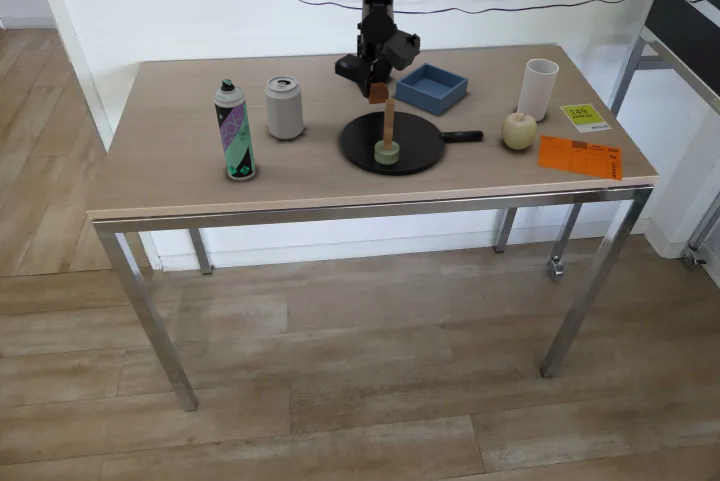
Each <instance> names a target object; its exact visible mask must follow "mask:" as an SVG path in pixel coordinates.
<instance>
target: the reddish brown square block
mask: <svg viewBox="0 0 720 481" xmlns="http://www.w3.org/2000/svg"><path fill="white" fill-rule="evenodd" d="M385 99H390V91H389V89H388V87H387V84H385V83H384V82H381V83H371V88H370V93H369V98H368V99H367V101H368V103H369V105H379V104H385Z"/></svg>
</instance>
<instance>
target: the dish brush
mask: <svg viewBox="0 0 720 481" xmlns="http://www.w3.org/2000/svg"><path fill="white" fill-rule="evenodd" d="M395 106H396V103H395V99H394V98H389V99H385V103H384V111H385V116H384V135H383V141H380V142H378V143H377V144H376V145H375V154H374V157H375V160H376V161H377V162H379V163H381V164H386V165H388V164H393V163H395V162H397V161H398V159H399V150H400V147H399V145H398V144H397V143H396V142H394V141H392V136H393V121H394V111H395V108H396V107H395Z"/></svg>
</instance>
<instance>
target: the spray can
mask: <svg viewBox="0 0 720 481" xmlns="http://www.w3.org/2000/svg"><path fill="white" fill-rule="evenodd" d="M213 102H214V108H215V112H216V119H217V123H218V128H219V129H218V130H219V133H220V139H221V144H222V151H223V156H224V158H225V166H226V170H227V175H228V177H229V178H231V179H232V180H234V181H246V180H250V179H251V178H253V177H254V175H255V174H256V164H255V157H254V150H253V143H252V142H253V141H252V136H251V129H250V123H249V117H248V115H249V114H248V109H247V101H246V95H245V92H244V90H243V89H242V88H240V87H238V86H236V85H234V84H233V81H232V79H228V78H225V79H223V80H222V81H221V86H220V87H219V88H218V89H217V90H215V91H214V92H213Z"/></svg>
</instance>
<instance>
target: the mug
mask: <svg viewBox="0 0 720 481" xmlns="http://www.w3.org/2000/svg"><path fill="white" fill-rule="evenodd" d="M559 70H560V67H559V65H558V64H557V63H556V62H554V61H551V60H550V59H545V58H531V59H530V60H528V61H527V63H526V67H525V72H524V76H523V80H522V85H521V88H520V89H521V90H520V94H519V99H518V104H517V108H516V113H524V114H525V113H526V114H528V115H530V116H532V117H533V118H534V119H535V121H536V122H540V121H542V120H543V119H544V117H545V115H546V111H547V110H548V106H549V103H550V99H551V96H552V93H553V89H554V88H555V87H554V86H555V83H556V80H557V77H558V73H559Z"/></svg>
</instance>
